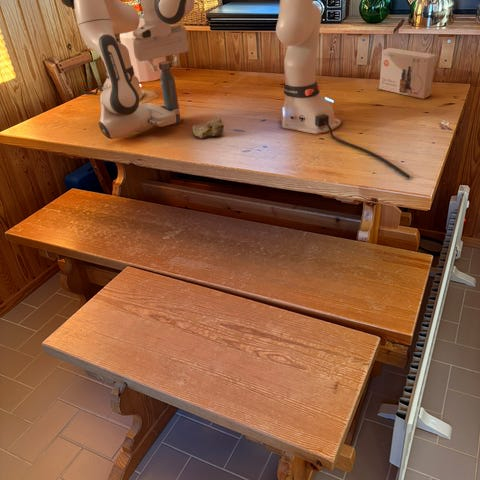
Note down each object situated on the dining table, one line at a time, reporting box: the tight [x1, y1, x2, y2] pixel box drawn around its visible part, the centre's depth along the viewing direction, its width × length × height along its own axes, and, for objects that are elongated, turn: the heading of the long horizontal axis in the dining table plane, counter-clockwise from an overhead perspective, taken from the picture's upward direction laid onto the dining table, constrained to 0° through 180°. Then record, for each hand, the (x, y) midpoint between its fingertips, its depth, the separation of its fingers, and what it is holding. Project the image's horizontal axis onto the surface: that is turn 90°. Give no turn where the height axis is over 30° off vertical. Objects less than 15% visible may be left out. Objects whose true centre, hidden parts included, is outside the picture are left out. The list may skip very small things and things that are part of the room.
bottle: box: [159, 68, 182, 126], centre depth 177 cm, size 6×6×22 cm
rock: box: [192, 116, 225, 139], centre depth 168 cm, size 11×6×10 cm
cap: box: [159, 60, 172, 70], centre depth 171 cm, size 4×4×2 cm
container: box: [119, 17, 167, 83], centre depth 235 cm, size 21×21×28 cm
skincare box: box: [378, 47, 437, 100], centre depth 184 cm, size 21×6×16 cm, turn 40°
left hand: (174, 108), depth 181 cm, fingers closed on bottle, 5 cm apart
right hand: (165, 68), depth 171 cm, fingers open, 7 cm apart
